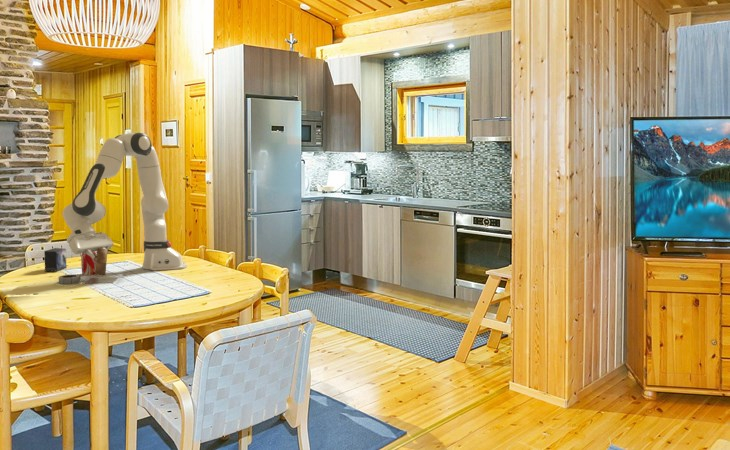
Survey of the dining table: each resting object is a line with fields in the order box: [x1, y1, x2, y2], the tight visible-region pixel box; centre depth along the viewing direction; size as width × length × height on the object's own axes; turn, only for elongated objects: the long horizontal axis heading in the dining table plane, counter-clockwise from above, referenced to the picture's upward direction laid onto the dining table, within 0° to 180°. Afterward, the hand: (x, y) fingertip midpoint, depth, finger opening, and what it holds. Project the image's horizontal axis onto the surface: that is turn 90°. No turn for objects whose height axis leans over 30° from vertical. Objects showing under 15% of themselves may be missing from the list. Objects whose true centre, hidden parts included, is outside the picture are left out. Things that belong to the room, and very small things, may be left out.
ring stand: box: [54, 274, 85, 287], centre depth 287 cm, size 12×12×4 cm
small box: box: [44, 247, 67, 272], centre depth 321 cm, size 11×6×10 cm, turn 179°
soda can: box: [80, 251, 97, 276], centre depth 307 cm, size 7×7×12 cm
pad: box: [84, 276, 118, 285], centre depth 292 cm, size 12×12×1 cm
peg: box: [94, 249, 109, 276], centre depth 290 cm, size 4×4×12 cm
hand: (100, 257), depth 290 cm, fingers closed on peg, 4 cm apart
